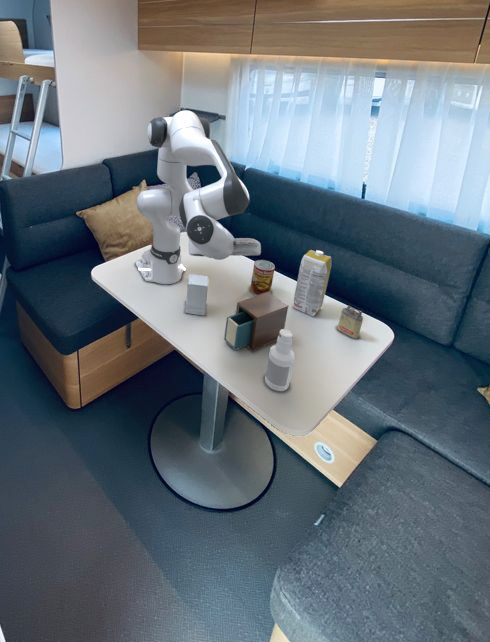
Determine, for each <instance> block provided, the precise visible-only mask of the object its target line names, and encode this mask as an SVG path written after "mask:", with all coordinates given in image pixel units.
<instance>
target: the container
mask: <svg viewBox="0 0 490 642" xmlns="http://www.w3.org/2000/svg"><path fill="white" fill-rule="evenodd" d="M253 322H254V318H253V317H252V316H251V315H249V314H248V313H247V312H246V311H243V312H240V313H237V314H236V313H235V314H232V315H229V316H227V317H226V321H225V330H224V337H223V340H224V341H225V342H226V343H227V344H228V345H229V346H230V347H231V348H232V349H234V350H235V351H236V350H239V349H241V348H244V347H247V346H246V345H249V344H250V341H251V335H252V329H253Z"/></svg>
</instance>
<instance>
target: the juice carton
mask: <svg viewBox="0 0 490 642" xmlns="http://www.w3.org/2000/svg"><path fill="white" fill-rule="evenodd" d="M331 268H332V257H331V256H330V255H326V254H324V251H322V250H317V249H316V251H315V250H312V249H310V250H308V251H307V252H306V253H304V254H303V256H302V258H301V261H300V265H299V269H298V275H297V281H296V285H295V291H294V296H293V308H294V309H296V310H298V311H300V312H302V313H304V314H307V315H309V316H311V317H314V316H316V314H317V313H318V312H319V311H320V309H321V308H322V306H323V304H324V300H325V295H326V291H327V287H328V284H329V283H328V282H329V278H330V274H331Z"/></svg>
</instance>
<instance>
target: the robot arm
mask: <svg viewBox="0 0 490 642" xmlns="http://www.w3.org/2000/svg"><path fill="white" fill-rule="evenodd" d="M146 133H147V134H146V135H147V139H148V141H149V144H150V145H151V146H152V147H155V148H157V149H158V152H157V153H158V154H157V168H156V175H157V177H158V179H159V180H160V181H161V182H162V183H165V184H167V185H169V186H170V188H152V189H148V190H142V191H141V192H140V193H139V194H138V196H137V199H136V208H137V211H138V212H139V213H140V214H141V215H142V216H143V217H145V218H146V219H147V221H149V223H150V225H151V227H152V237H153V238H152V242H151V243H150V244H149V245H150V246H151V247H150V249H148V250H145V251H144V252H143V253H142V254H141V258H140V259H138V260H137V261H136V262H135V266H136V268H137V269H138V271H139V273H140V274H141V276H142V277H143V279H144V281H146V282H151V283H156V284H161V285H172V284H175V283H178V282H179V281H181V279H182V274H183V272H184V271H186V268H185V267H184V265H183V264H182V254H181V245H180V244H181V233H182V232H181V229H180V227H179V226H178V224H176V223H174V222H172V221H170V220H168V218H169V217H179V218H180V220H181V223H182V225H183V227H184V229H185V232H186V236H187V238H188V254H189V255H190V256H192V257H205V258H208V259H214V260H216V261H217V260H218V261H219V260H221V261H222V260H225V259H227V258H229V257H231V256H232V257H233V256H238V257H239V256H244V257H248V256H260V255H261V253H262V245H261V244H262V243H261V242H260V241H258V240H256V239H255V238H250V237H244V238H243V237H239V238H238V237H236V238H235V237H234V236H233V234H232V233H231V232H230V231H229V230H228V229H227V228H225V227H224V226H223V224H221V223H220V222H219V221H218V220H221V219H225V218H228V217H230V216H236V215H239V214H243V213H244V212H245V211H246V209H247V208H248V206H249V204H250V201H251V200H250V194H249V191H248V189H247V187H246V185H245V184H244V182H243V181H242V180H241V179H240V178H239V177H238V176H237V173H236V171H235V170H234V167H233V165H232V164H231V162H230V160H229V158H228V157H227V155H226V153H225V151H224V150H223V148H222V146H221V145H220V144H219V142H218V141H217V140H216V139H211V137H212V127H211V123H210V121H209V120H208V119H207V118H205V117H201V116H198V115H197V114H196V113H195V112H193V111H191V110H186V109H185V110H181V111H178V112H177V113H175V114H174V115H173V116H167V117H163V116H158V117H153V118H152V119H151V120H150V121H149V124H148V126H147V132H146ZM187 166H189V167H199V166H214V167H216V169H217V171H218V173H219V175H220V178H219V180H217V181H216V182H213V183H211V184H207V185H205V186H203V187H199V188H197V189H194V188H192V186H191V184H190V183H189V182H188V181H189V180H188V178H187Z"/></svg>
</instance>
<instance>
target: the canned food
mask: <svg viewBox="0 0 490 642" xmlns="http://www.w3.org/2000/svg"><path fill="white" fill-rule="evenodd" d="M275 269H276V267H275V264H274V263H273V262H271V261H269V260H265V259H257V260H255V261H254V262H253V268H252V276H251V283H250V291H251V293H252V294H254V295H255V296H257V295H260V294H263V293H266V292H269V293H271V292H272V286H273V282H274V281H273V280H274V276H275V275H274V273H275ZM271 294H272V293H271Z"/></svg>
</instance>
